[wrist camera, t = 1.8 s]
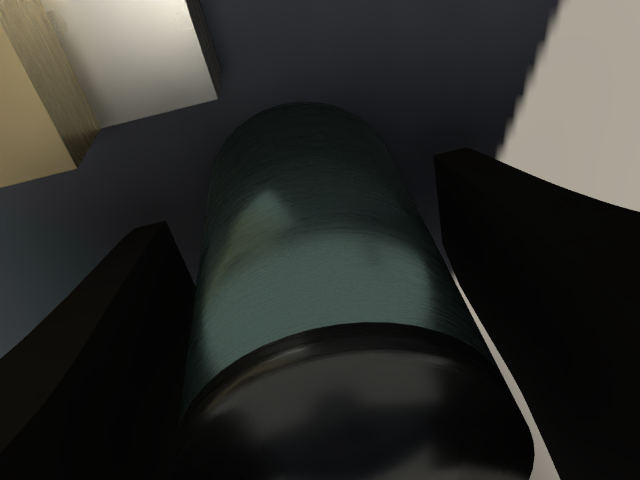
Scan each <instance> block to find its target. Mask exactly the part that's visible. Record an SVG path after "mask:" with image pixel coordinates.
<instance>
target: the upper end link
mask: <svg viewBox="0 0 640 480" xmlns="http://www.w3.org/2000/svg"><path fill="white" fill-rule="evenodd" d="M100 129H101V127H100V125H99V123H98V121H97V119H96V117H95V115H94V113H93V111H92V108H91V106H90V104H89V102H88V100H87V98H86V96H85V94H84V92H83V90H82V88H81V85H80V83H79V81H78V79H77V77H76V75H75V73H74V71H73V69H72V67H71V65H70V62H69V60H68V58H67V56H66V54H65V52H64V50H63V48H62V46H61V44H60V42H59V39H58V37H57V35H56V33H55V31H54V29H53V27H52V25H51V23H50V21H49V18H48V16H47V14H46V12H45V10H44V8H43V6H42V4H41V2H40V0H0V188H1V187H6V186H10V185H14V184H18V183H22V182H26V181H30V180H34V179H38V178H42V177H46V176H50V175H54V174H58V173H62V172H66V171H70V170H74V169H77V168H78V166H79V165H80V163H81V161H82V160H83V158H84V156H85V155H86V153H87V151H88V150H89V148H90V146H91V145H92V143H93V141H94V139H95V138H96V136H97V134H98V133H99V131H100Z"/></svg>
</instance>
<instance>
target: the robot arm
mask: <svg viewBox="0 0 640 480" xmlns="http://www.w3.org/2000/svg"><path fill="white" fill-rule="evenodd" d="M433 156H434V166H435V175H436V185H437V194H438V204H439V214H440V223H441V233H442V242H443V246H444V248H445V251H446V253H447V256H448V258H449V261H450V263H451V266H452V268H453V271H454V273H455V275H456V278H457V280H458V282H459V285H460V287H461V288H462V290H463V292H464V294H465V295H466V297H467V299H468V301H469V302H470V304H471V306H472V307H473V309H474V311H475V313H476V314H477V316H478V318H479V320H480V321H481V323H482V325H483V326H484V328H485V330H486V331H487V333H488V335H489V337H490V338H491V340H492V342H493V343H494V345H495V346H496V348H497V350H498V352H499V353H500V355H501V357H502V358H503V360H504V362H505V364H506V365H507V367H508V369H509V370H510V372H511V374H512V376H513V377H514V379H515V381H516V383H517V385H518V387H519V389H520V391H521V392H522V394H523V396H524V398H525V401H526V403H527V405H528V407H529V409H530V412H531V414H532V416H533V418H534V421H535V423H536V425H537V427H538V429H539V432H540V434H541V436H542V438H543V440H544V443H545V445H546V447H547V449H548V452H549V454H550V456H551V459H552V461H553V463H554V466H555V468H556V470H557V472H558V475H559V477H560V479H561V480H640V212H637V211H634V210H630V209H626V208H622V207H619V206H615V205H613V204H609V203H606V202H603V201H600V200H597V199H594V198H591V197H588V196H585V195H582V194H580V193H577V192H574V191H571V190H568V189H565V188H563V187H560V186H557V185H555V184H552V183H550V182H547V181H545V180H542V179H540V178H537V177H535V176H533V175H530V174H528V173H526V172H523V171H521V170H519V169H516V168H514V167H512V166H509V165H507V164H505V163H503V162H500V161H498V160H496V159H494V158H491V157H489V156H487V155H484V154H482V153H479V152H477V151H474V150H472V149H469V148H462V149H458V150H454V151H450V152H446V153H442V154H437V155H433ZM195 293H196V287H195V285H194V282H193V280H192V278H191V276H190V274H189V271H188V269H187V267H186V265H185V262H184V260H183V258H182V256H181V254H180V251H179V249H178V247H177V245H176V243H175V240H174V238H173V236H172V234H171V231H170V229H169V227H168V225H167V223H166V221H163V222H159V223H155V224H151V225H147V226H143V227H139V228H135V229H134V230H132V231H131V232H130V233H129V234H128V235H126V236H125V237H124V238H123V239H122V240H121V241H120V242H119V243H118V244H117V245H116V246H115V247H114V248H113V249H112V250H111V251H110V253H109V254H108V255H107V256H106V257H105V258H104V259H103V260H102V261H101V262H100V263H99V264H98V265H97V266H96V267H95V268H94V269H93V270H92V271H91V273H90V274H89V275H88V276H87V277H86V278H85V279H84V280H83V281H82V282H81V283H80V284H79V285H78V286H77V287H76V288H75V289H74V290H73V291H72V292H71V293H70V295H69V296H68V297H66V298H65V299H64V300H63V301H62V302H61V303H60V304H59V305H58V306H57V307H56V308H55V309H54V310H53V311H52V312H51V313H50V314H49V315H48V316H47V317H46V318H45V319H44V320H43V321H42V322H41V323H40V324H39V325H38V326H37V327H36V328H34V329H33V330H32V331H31V332H30V333H29V334H28V335H27V336H26V337H25V338H24V339H23V340H22V341H20V342H19V343H18V344H17V345H16V346H15V347H14V348H13V349H11V350H10V351H9V352H8V353H7V354H6V355H4V356H3V357H2V358H1V359H0V480H171V478H172V470H173V462H174V455H175V447H176V439H177V432H178V424H179V416H180V408H181V401H182V393H183V385H184V378H185V370H186V362H187V355H188V347H189V339H190V331H191V324H192V316H193V308H194V301H195Z"/></svg>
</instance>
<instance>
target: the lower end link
mask: <svg viewBox="0 0 640 480" xmlns="http://www.w3.org/2000/svg"><path fill="white" fill-rule="evenodd" d="M40 2H41V4H42V6H43V8H44V10H45V12H46V14H47V16H48V18H49V21H50V23H51V25H52V27H53V29H54V31H55V33H56V35H57V37H58V39H59V42H60V44H61V46H62V48H63V50H64V52H65V54H66V56H67V58H68V60H69V62H70V65H71V67H72V69H73V71H74V73H75V75H76V77H77V79H78V81H79V83H80V85H81V88H82V90H83V92H84V94H85V96H86V98H87V100H88V102H89V104H90V106H91V108H92V111H93V113H94V115H95V117H96V119H97V121H98V123H99V125H100V127H101V128H105V127H109V126H113V125H117V124H121V123H125V122H129V121H133V120H137V119H141V118H145V117H149V116H153V115H157V114H161V113H165V112H169V111H173V110H177V109H181V108H185V107H189V106H193V105H197V104H201V103H205V102H209V101H213V100H217V99H218V95H219V88H220V81H221V74H222V71H221V68H220V65H219V62H218V59H217V56H216V53H215V49H214V46H213V43H212V40H211V37H210V34H209V31H208V28H207V25H206V21H205V18H204V15H203V12H202V9H201V6H200V3H199V0H40Z"/></svg>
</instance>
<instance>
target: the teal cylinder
mask: <svg viewBox="0 0 640 480" xmlns="http://www.w3.org/2000/svg"><path fill="white" fill-rule="evenodd" d="M534 455H535V454H534V443H533V439H532V435H531V432H530V429H529V427H528V425H527V423H526V421H525V419H524V417H523V415H522V413H521V411H520V409H519V407H518V405H517V404H516V401H515V399H514V397H513V395H512V393H511V392H510V389H509V388H508V386H507V384H506V382H505V380H504V378H503V376H502V374H501V372H500V370H499V368H498V366H497V364H496V362H495V360H494V358H493V356H492V354H491V353H490V350H489V348H488V346H487V344H486V342H485V340H484V338H483V337H482V335H481V333H480V331H479V329H478V327H477V325H476V323H475V321H474V319H473V317H472V315H471V313H470V311H469V309H468V307H467V305H466V303H465V301H464V299H463V297H462V295H461V293H460V292H459V289H458V287H457V286H456V284H455V282H454V280H453V278H452V276H451V274H450V272H449V270H448V268H447V266H446V264H445V262H444V260H443V258H442V256H441V254H440V252H439V250H438V248H437V246H436V244H435V242H434V240H433V238H432V237H431V235H430V233H429V231H428V229H427V227H426V225H425V223H424V221H423V219H422V217H421V215H420V213H419V211H418V209H417V207H416V205H415V203H414V201H413V199H412V197H411V195H410V193H409V191H408V189H407V187H406V186H405V184H404V182H403V180H402V178H401V176H400V174H399V172H398V170H397V168H396V166H395V164H394V162H393V160H392V158H391V156H390V154H389V152H388V150H387V148H386V147H385V145H384V143H383V141H382V140H381V138H380V137H379V136H378V135H377V133H376V132H375V131H374V130H373V129H372V128H371V127H370V126H369V125H368V124H367V123H366V122H364V121H363V120H361V119H360V118H359V117H357V116H356V115H354V114H352V113H350V112H348V111H346V110H344V109H341V108H338V107H335V106H332V105H327V104H322V103H314V102H297V103H289V104H284V105H279V106H276V107H273V108H270V109H267V110H265V111H263V112H261V113H258V114H256V115H255V116H253V117H251V118H250V119H248V120H247V121H245V122H244V123H243V124H242V125H240V126H239V127H238V128H237V129H236V130H235V131H234V132H233V133H232V134H231V135H230V136H229V137H228V138H227V140H226V141H225V143H224V144H223V146H222V147H221V149H220V150H219V153H218V155H217V157H216V159H215V162H214V165H213V168H212V172H211V178H210V185H209V193H208V201H207V208H206V216H205V224H204V231H203V239H202V247H201V254H200V262H199V270H198V278H197V285H196V293H195V301H194V308H193V316H192V324H191V331H190V339H189V347H188V355H187V362H186V370H185V378H184V385H183V393H182V401H181V408H180V416H179V424H178V432H177V439H176V447H175V455H174V462H173V470H172V478H171V480H529V478H530V475H531V472H532V469H533V463H534Z"/></svg>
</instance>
